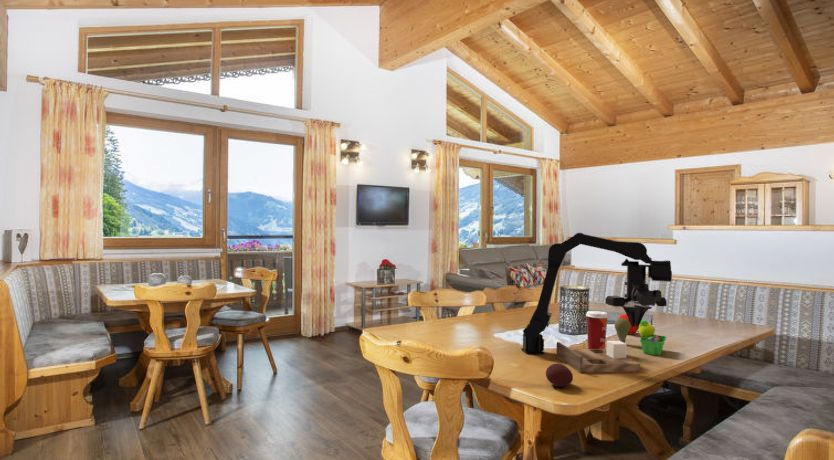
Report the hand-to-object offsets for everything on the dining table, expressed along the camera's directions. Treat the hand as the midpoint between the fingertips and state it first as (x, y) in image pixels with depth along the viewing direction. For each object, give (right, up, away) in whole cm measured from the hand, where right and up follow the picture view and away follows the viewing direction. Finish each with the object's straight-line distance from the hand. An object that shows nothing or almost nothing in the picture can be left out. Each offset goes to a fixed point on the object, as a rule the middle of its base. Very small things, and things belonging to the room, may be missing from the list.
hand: (635, 326), depth 161 cm
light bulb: (+6, -12, +26) cm, 29 cm away
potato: (-32, -12, -23) cm, 41 cm away
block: (-7, -10, -1) cm, 12 cm away
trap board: (-13, -12, -1) cm, 18 cm away
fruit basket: (+13, -12, +15) cm, 23 cm away
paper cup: (-7, -12, +15) cm, 20 cm away
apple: (+17, -12, +44) cm, 49 cm away
